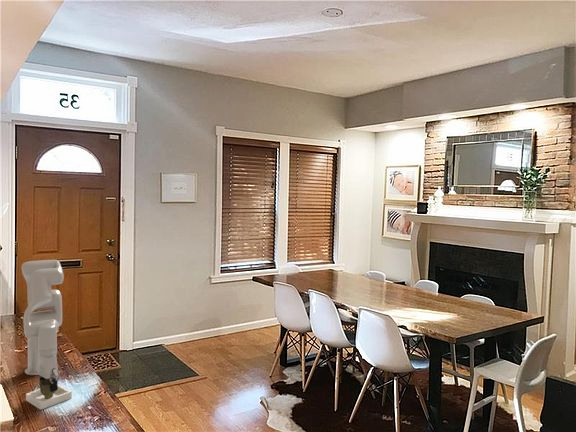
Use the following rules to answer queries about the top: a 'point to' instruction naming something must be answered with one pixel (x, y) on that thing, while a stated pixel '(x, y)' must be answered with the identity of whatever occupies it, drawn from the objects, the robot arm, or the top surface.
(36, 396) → the tray
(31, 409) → the top surface
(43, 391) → the ornate bronze bell
